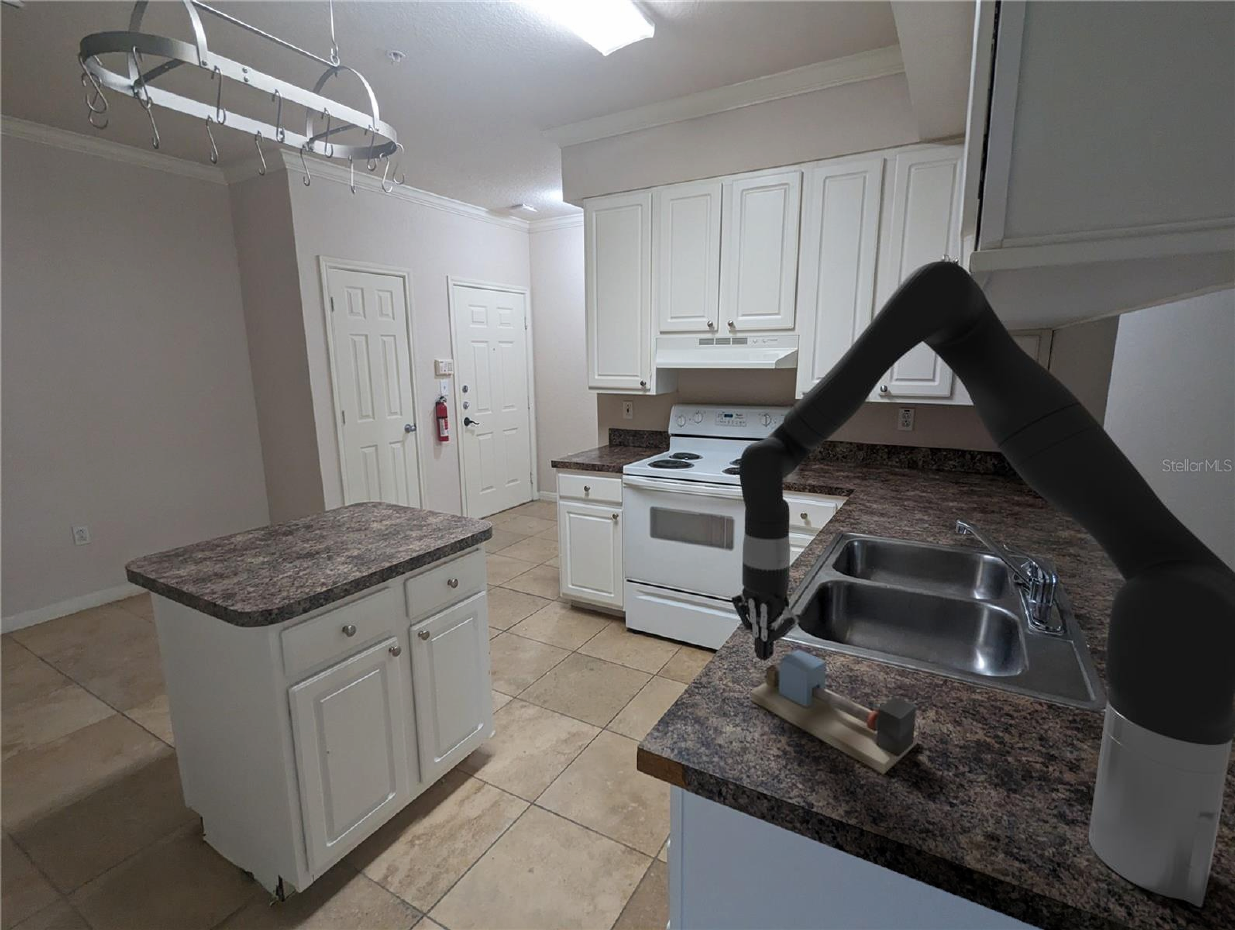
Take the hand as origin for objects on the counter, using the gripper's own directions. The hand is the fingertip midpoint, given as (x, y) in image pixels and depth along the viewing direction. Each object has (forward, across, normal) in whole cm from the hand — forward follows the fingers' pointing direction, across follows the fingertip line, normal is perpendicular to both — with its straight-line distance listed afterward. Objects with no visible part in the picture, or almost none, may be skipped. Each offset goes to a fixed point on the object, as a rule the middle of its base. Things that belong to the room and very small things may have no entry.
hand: (763, 657), depth 93 cm
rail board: (+5, -12, 0) cm, 13 cm away
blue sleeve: (+3, -8, 0) cm, 8 cm away
